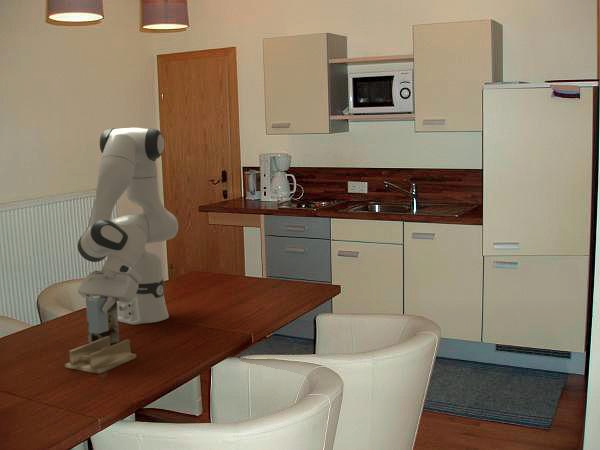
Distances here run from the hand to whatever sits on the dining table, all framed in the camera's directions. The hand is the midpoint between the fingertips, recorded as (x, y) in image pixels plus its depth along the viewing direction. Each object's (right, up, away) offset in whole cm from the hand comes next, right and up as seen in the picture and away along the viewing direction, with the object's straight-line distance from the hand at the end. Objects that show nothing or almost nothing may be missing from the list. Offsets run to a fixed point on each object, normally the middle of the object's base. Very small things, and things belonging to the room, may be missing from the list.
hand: (96, 310), depth 226 cm
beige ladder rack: (+1, -16, +3) cm, 16 cm away
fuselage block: (+1, -6, +1) cm, 7 cm away
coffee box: (-4, -13, +24) cm, 28 cm away
